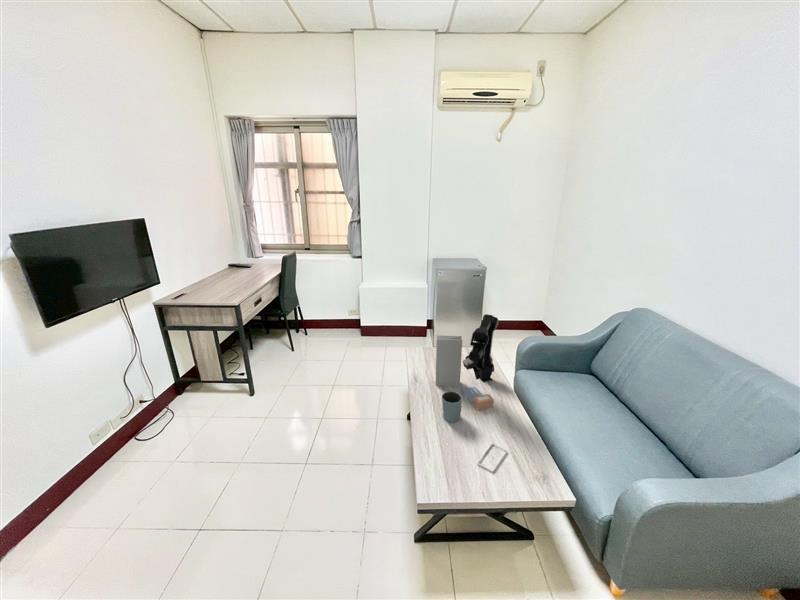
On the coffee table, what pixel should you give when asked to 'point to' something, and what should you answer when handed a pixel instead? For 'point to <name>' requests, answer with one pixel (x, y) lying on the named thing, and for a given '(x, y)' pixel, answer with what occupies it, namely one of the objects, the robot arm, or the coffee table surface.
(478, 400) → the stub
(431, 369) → the coffee table surface
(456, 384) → the tall grey box
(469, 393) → the blue book
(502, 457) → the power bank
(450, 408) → the blue-grey cup
